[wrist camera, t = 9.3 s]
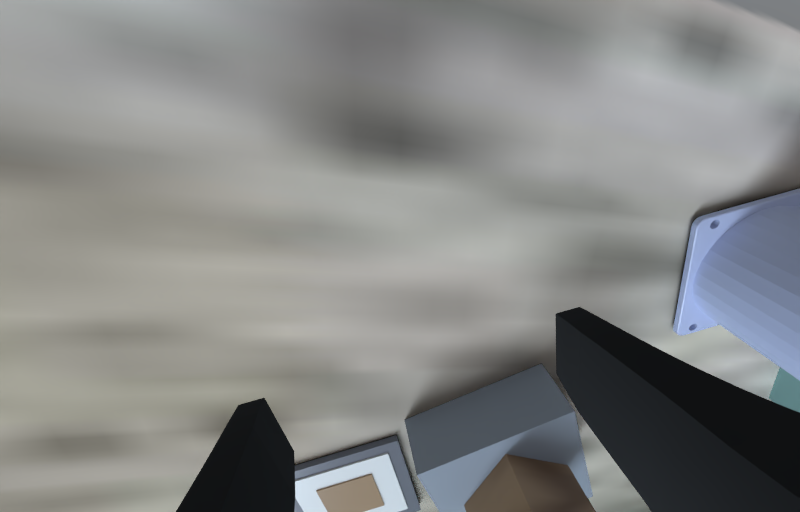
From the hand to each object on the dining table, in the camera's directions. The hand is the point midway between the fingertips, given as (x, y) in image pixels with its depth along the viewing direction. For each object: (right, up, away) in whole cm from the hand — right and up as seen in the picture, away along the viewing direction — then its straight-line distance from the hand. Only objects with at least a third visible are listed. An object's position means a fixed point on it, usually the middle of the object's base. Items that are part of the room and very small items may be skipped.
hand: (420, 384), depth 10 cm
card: (-4, -12, +17) cm, 21 cm away
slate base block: (+5, -9, +17) cm, 20 cm away
